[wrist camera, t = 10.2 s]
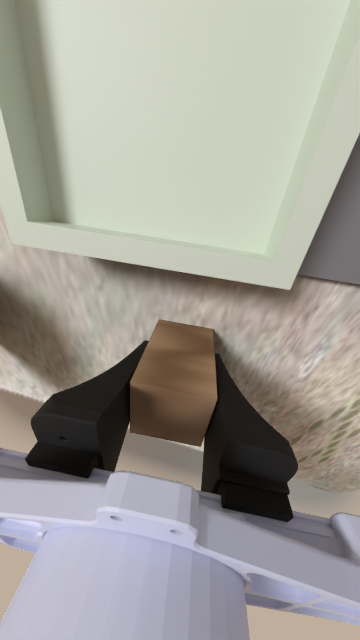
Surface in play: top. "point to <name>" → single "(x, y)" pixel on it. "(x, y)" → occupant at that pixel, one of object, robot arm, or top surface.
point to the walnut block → (175, 384)
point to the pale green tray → (177, 129)
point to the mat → (338, 230)
